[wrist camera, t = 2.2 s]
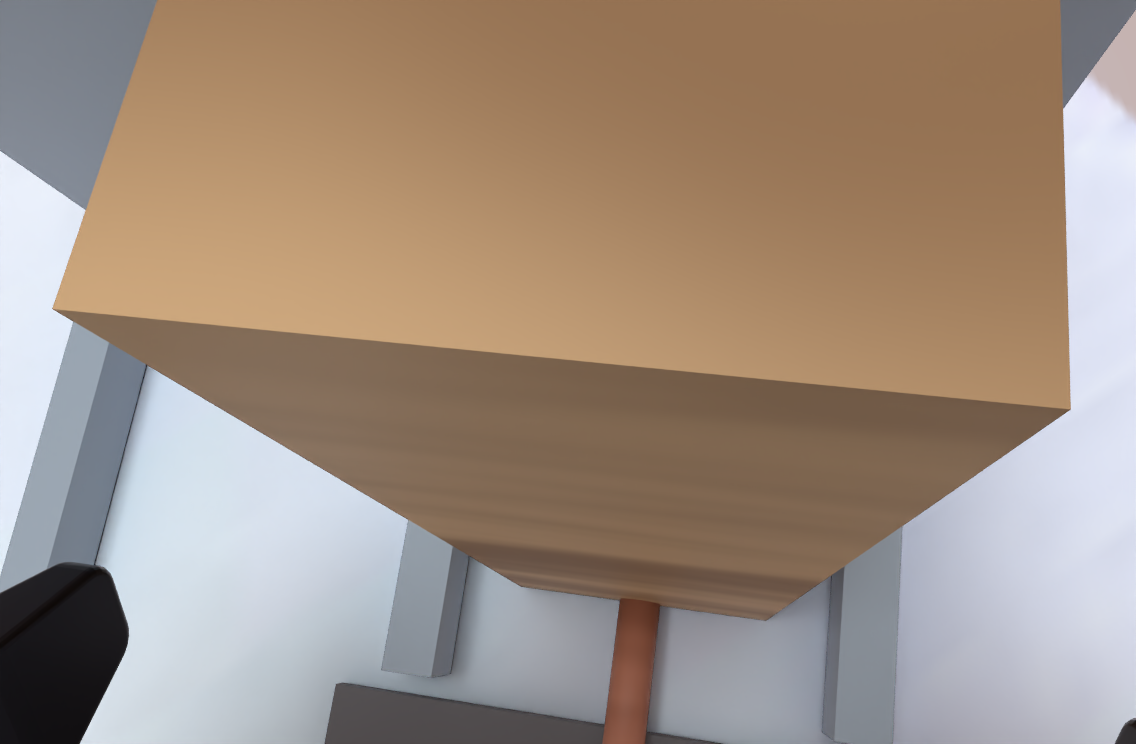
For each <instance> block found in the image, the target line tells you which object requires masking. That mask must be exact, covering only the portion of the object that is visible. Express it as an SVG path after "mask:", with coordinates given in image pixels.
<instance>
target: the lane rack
mask: <svg viewBox="0 0 1136 744" xmlns="http://www.w3.org/2000/svg"><path fill="white" fill-rule="evenodd" d="M156 2H157V0H0V151H1V152H3V153H4V154H6V155H7V156H9V157H10V158H11V159H13V160H14V161H16V162H17V163H19V164H20V165H22V166H23V167H24V168H26V169H27V170H29V171H30V172H32V173H33V174H34V175H36V176H37V177H39V178H40V179H42V180H43V181H45V182H46V183H47V184H49V185H50V186H52V187H53V188H55V189H56V190H58V191H59V192H60V193H62V194H63V195H65V196H66V197H68V198H69V199H71V200H72V201H73V202H75V203H76V204H78V205H79V206H81V207H82V208H84V209H85V210H86V208H87V205H88V202H89V199H90V197H91V194H92V191H93V188H94V185H95V182H96V179H97V176H98V173H99V170H100V167H101V164H102V161H103V158H104V155H105V152H106V149H107V147H108V144H109V141H110V138H111V135H112V132H113V129H114V126H115V123H116V120H117V117H118V114H119V111H120V108H121V105H122V102H123V99H124V96H125V94H126V91H127V88H128V85H129V82H130V79H131V76H132V73H133V70H134V67H135V64H136V61H137V58H138V55H139V52H140V49H141V46H142V43H143V41H144V38H145V35H146V32H147V29H148V26H149V23H150V20H151V17H152V14H153V11H154V8H155V5H156ZM1135 10H1136V0H1060V12H1061V51H1062V91H1063V108H1064V107H1065V106H1066V104H1067V103H1068V102H1069V100H1070V99H1071V97H1072V96H1073V95H1074V93H1075V92H1076V91H1077V89H1078V88H1079V87H1080V85H1081V84H1082V82H1083V81H1084V80H1085V78H1086V77H1087V76H1088V74H1089V73H1090V72H1091V70H1092V69H1093V67H1094V66H1095V64H1096V63H1097V62H1098V61H1099V59H1100V58H1101V57H1102V55H1103V54H1104V52H1105V51H1106V50H1107V48H1108V47H1109V45H1110V44H1111V43H1112V41H1113V40H1114V39H1115V37H1116V36H1117V35H1118V33H1119V32H1120V31H1121V29H1122V28H1123V26H1124V25H1125V24H1126V22H1127V21H1128V20H1129V18H1130V17H1131V16H1132V14H1133V13H1134V11H1135ZM145 368H146V364H144V363H143V362H141V361H139V360H138V359H136V358H134V357H133V356H131V355H129V354H128V353H126V352H124V351H122V350H121V349H119V348H117V347H116V346H114V345H112V344H111V343H109V342H107V341H106V340H104V339H102V338H101V337H99V336H97V335H95V334H94V333H92V332H90V331H89V330H87V329H85V328H84V327H82V326H80V325H79V324H77V323H75V322H73V325H72V328H71V332H70V335H69V339H68V342H67V345H66V349H65V352H64V356H63V359H62V363H61V366H60V370H59V373H58V377H57V380H56V384H55V387H54V391H53V394H52V398H51V401H50V405H49V408H48V412H47V415H46V419H45V422H44V426H43V429H42V433H41V436H40V440H39V443H38V447H37V450H36V454H35V457H34V461H33V464H32V467H31V471H30V474H29V478H28V481H27V485H26V488H25V492H24V495H23V499H22V502H21V506H20V509H19V513H18V516H17V520H16V523H15V527H14V530H13V534H12V537H11V541H10V544H9V548H8V551H7V555H6V558H5V562H4V565H3V569H2V572H1V576H0V593H1V592H3V591H4V590H6V589H8V588H10V587H12V586H14V585H16V584H18V583H20V582H22V581H24V580H26V579H28V578H30V577H32V576H34V575H36V574H38V573H40V572H42V571H44V570H46V569H48V568H50V567H52V566H54V565H56V564H58V563H62V562H77V563H83V564H90V565H94V562H95V559H96V555H97V551H98V547H99V543H100V539H101V536H102V532H103V528H104V524H105V520H106V517H107V513H108V509H109V505H110V501H111V498H112V494H113V490H114V486H115V482H116V479H117V475H118V471H119V467H120V463H121V459H122V456H123V452H124V448H125V444H126V440H127V437H128V433H129V429H130V425H131V421H132V418H133V414H134V410H135V406H136V402H137V399H138V395H139V391H140V387H141V383H142V379H143V376H144V372H145ZM901 543H902V527H900V528H899V529H897V530H896V531H895V532H893V533H892V534H890V535H889V536H887V537H886V538H884V539H883V540H882V541H880V542H879V543H877V544H876V545H874V546H873V547H871V548H870V549H869V550H867V551H866V552H864V553H863V554H861V555H860V556H858V557H857V558H856V559H854V560H853V561H851V562H850V563H848V564H847V565H845V566H844V567H843V568H841V569H840V570H838V571H837V572H835V573H834V574H832V582H831V598H830V614H829V630H828V646H827V661H826V677H825V693H824V709H823V725H822V732H823V733H824V734H825V735H827V736H828V737H829V738H831V739H832V740H833V741H835V742H842V743H848V744H893V723H894V701H895V678H896V656H897V633H898V611H899V588H900V566H901ZM468 561H469V555H467V554H465V553H463V552H462V551H460V550H458V549H457V548H455V547H453V546H452V545H450V544H448V543H447V542H445V541H443V540H441V539H440V538H438V537H436V536H435V535H433V534H431V533H430V532H428V531H426V530H425V529H423V528H421V527H420V526H418V525H416V524H414V523H413V522H411V521H409V520H408V524H407V529H406V535H405V540H404V546H403V551H402V557H401V563H400V568H399V574H398V579H397V585H396V590H395V596H394V602H393V607H392V613H391V618H390V624H389V629H388V635H387V641H386V646H385V652H384V657H383V663H382V668H381V670H384V671H390V672H397V673H403V674H409V675H416V676H422V677H428V678H433V677H438V676H443V675H447V674H450V672H451V666H452V660H453V654H454V648H455V642H456V635H457V629H458V623H459V617H460V611H461V604H462V598H463V592H464V586H465V580H466V573H467V567H468Z"/></svg>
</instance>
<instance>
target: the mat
mask: <svg viewBox="0 0 1136 744" xmlns="http://www.w3.org/2000/svg"><path fill="white" fill-rule="evenodd" d="M604 726H605V725H603V724H597V723H591V722H584V721H578V720H572V719H566V718H559V717H553V716H547V715H541V714H535V713H528V712H522V711H516V710H510V709H503V708H497V707H491V706H485V705H478V704H472V703H466V702H460V701H454V700H447V699H441V698H435V697H429V696H422V695H416V694H410V693H404V692H398V691H391V690H385V689H379V688H373V687H366V686H360V685H354V684H348V683H338V684H336V687H335V692H334V697H333V702H332V708H331V713H330V718H329V723H328V729H327V734H326V739H325V744H602V743H603V735H604ZM645 744H721V743H715V742H709V741H703V740H696V739H690V738H684V737H678V736H671V735H665V734H659V733H653V732H647V731H646V739H645Z"/></svg>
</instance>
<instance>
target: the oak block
mask: <svg viewBox="0 0 1136 744" xmlns="http://www.w3.org/2000/svg"><path fill="white" fill-rule="evenodd" d="M52 309H53V310H55V311H57V312H58V313H60V314H62V315H63V316H65V317H67V318H68V319H70V320H72V321H73V322H75V323H77V324H79V325H80V326H82V327H84V328H85V329H87V330H89V331H90V332H92V333H94V334H95V335H97V336H99V337H101V338H102V339H104V340H106V341H107V342H109V343H111V344H112V345H114V346H116V347H117V348H119V349H121V350H122V351H124V352H126V353H128V354H129V355H131V356H133V357H134V358H136V359H138V360H139V361H141V362H143V363H144V364H146V365H148V366H149V367H151V368H153V369H155V370H156V371H158V372H160V373H161V374H163V375H165V376H166V377H168V378H170V379H171V380H173V381H175V382H176V383H178V384H180V385H182V386H183V387H185V388H187V389H188V390H190V391H192V392H193V393H195V394H197V395H198V396H200V397H202V398H203V399H205V400H207V401H209V402H210V403H212V404H214V405H215V406H217V407H219V408H220V409H222V410H224V411H225V412H227V413H229V414H230V415H232V416H234V417H236V418H237V419H239V420H241V421H242V422H244V423H246V424H247V425H249V426H251V427H252V428H254V429H256V430H257V431H259V432H261V433H263V434H264V435H266V436H268V437H269V438H271V439H273V440H274V441H276V442H278V443H279V444H281V445H283V446H285V447H286V448H288V449H290V450H291V451H293V452H295V453H296V454H298V455H300V456H301V457H303V458H305V459H306V460H308V461H310V462H312V463H313V464H315V465H317V466H318V467H320V468H322V469H323V470H325V471H327V472H328V473H330V474H332V475H333V476H335V477H337V478H339V479H340V480H342V481H344V482H345V483H347V484H349V485H350V486H352V487H354V488H355V489H357V490H359V491H360V492H362V493H364V494H366V495H367V496H369V497H371V498H372V499H374V500H376V501H377V502H379V503H381V504H382V505H384V506H386V507H387V508H389V509H391V510H393V511H394V512H396V513H398V514H399V515H401V516H403V517H404V518H406V519H408V520H409V521H411V522H413V523H414V524H416V525H418V526H420V527H421V528H423V529H425V530H426V531H428V532H430V533H431V534H433V535H435V536H436V537H438V538H440V539H441V540H443V541H445V542H447V543H448V544H450V545H452V546H453V547H455V548H457V549H458V550H460V551H462V552H463V553H465V554H467V555H469V556H470V557H472V558H474V559H475V560H477V561H479V562H480V563H482V564H484V565H485V566H487V567H489V568H490V569H492V570H494V571H496V572H497V573H499V574H501V575H502V576H504V577H506V578H507V579H509V580H511V581H512V582H514V583H516V584H517V585H519V586H521V587H528V588H535V589H542V590H549V591H557V592H564V593H571V594H578V595H585V596H593V597H600V598H607V599H614V600H620V604H619V612H618V621H617V629H616V637H615V645H614V653H613V661H612V669H611V678H610V686H609V694H608V702H607V710H606V718H605V726H604V735H603V743H602V744H645V739H646V729H647V720H648V711H649V702H650V693H651V684H652V675H653V666H654V656H655V647H656V638H657V629H658V620H659V611H660V606H665V607H672V608H679V609H686V610H693V611H701V612H708V613H715V614H722V615H730V616H737V617H744V618H751V619H758V620H768V619H769V618H770V617H772V616H773V615H775V614H776V613H778V612H779V611H781V610H782V609H783V608H785V607H786V606H788V605H789V604H791V603H792V602H794V601H795V600H796V599H798V598H799V597H801V596H802V595H804V594H805V593H807V592H808V591H809V590H811V589H812V588H814V587H815V586H817V585H818V584H820V583H821V582H822V581H824V580H825V579H827V578H828V577H830V576H831V575H832V574H834V573H835V572H837V571H838V570H840V569H841V568H843V567H844V566H845V565H847V564H848V563H850V562H851V561H853V560H854V559H856V558H857V557H858V556H860V555H861V554H863V553H864V552H866V551H867V550H869V549H870V548H871V547H873V546H874V545H876V544H877V543H879V542H880V541H882V540H883V539H884V538H886V537H887V536H889V535H890V534H892V533H893V532H895V531H896V530H897V529H899V528H900V527H902V526H903V525H905V524H906V523H908V522H909V521H910V520H912V519H913V518H915V517H916V516H918V515H919V514H920V513H922V512H923V511H925V510H926V509H928V508H929V507H931V506H932V505H933V504H935V503H936V502H938V501H939V500H941V499H942V498H944V497H945V496H946V495H948V494H949V493H951V492H952V491H954V490H955V489H957V488H958V487H959V486H961V485H962V484H964V483H965V482H967V481H968V480H970V479H971V478H972V477H974V476H975V475H977V474H978V473H980V472H981V471H983V470H984V469H985V468H987V467H988V466H990V465H991V464H993V463H994V462H996V461H997V460H998V459H1000V458H1001V457H1003V456H1004V455H1006V454H1007V453H1008V452H1010V451H1011V450H1013V449H1014V448H1016V447H1017V446H1019V445H1020V444H1021V443H1023V442H1024V441H1026V440H1027V439H1029V438H1030V437H1032V436H1033V435H1034V434H1036V433H1037V432H1039V431H1040V430H1042V429H1043V428H1045V427H1046V426H1047V425H1049V424H1050V423H1052V422H1053V421H1055V420H1056V419H1058V418H1059V417H1060V416H1062V415H1063V414H1065V413H1066V412H1068V411H1069V410H1071V405H1070V366H1069V327H1068V287H1067V248H1066V209H1065V169H1064V130H1063V91H1062V51H1061V12H1060V0H157V2H156V5H155V8H154V11H153V14H152V17H151V20H150V23H149V26H148V29H147V32H146V35H145V38H144V41H143V43H142V46H141V49H140V52H139V55H138V58H137V61H136V64H135V67H134V70H133V73H132V76H131V79H130V82H129V85H128V88H127V91H126V94H125V96H124V99H123V102H122V105H121V108H120V111H119V114H118V117H117V120H116V123H115V126H114V129H113V132H112V135H111V138H110V141H109V144H108V147H107V149H106V152H105V155H104V158H103V161H102V164H101V167H100V170H99V173H98V176H97V179H96V182H95V185H94V188H93V191H92V194H91V197H90V199H89V202H88V205H87V208H86V211H85V214H84V217H83V220H82V223H81V226H80V229H79V232H78V235H77V238H76V241H75V244H74V247H73V250H72V252H71V255H70V258H69V261H68V264H67V267H66V270H65V273H64V276H63V279H62V282H61V285H60V288H59V291H58V294H57V297H56V300H55V303H54V305H53V308H52Z"/></svg>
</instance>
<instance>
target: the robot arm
mask: <svg viewBox="0 0 1136 744" xmlns="http://www.w3.org/2000/svg"><path fill="white" fill-rule="evenodd" d="M128 638H129V627H128V623H127V620H126V617H125V614H124V611H123V608H122V605H121V602H120V599H119V596H118V593H117V590H116V587H115V584H114V581H113V578H112V576H111V574H110V573H109V572H108V571H107V570H106V569H105V568H104V567H101V566H97V565H90V564H83V563H77V562H62V563H58V564H56V565H54V566H52V567H50V568H48V569H46V570H44V571H42V572H40V573H38V574H36V575H34V576H32V577H30V578H28V579H26V580H24V581H22V582H20V583H18V584H16V585H14V586H12V587H10V588H8V589H6V590H4V591H3V592H1V593H0V744H80V742H81V740H82V738H83V736H84V734H85V732H86V730H87V728H88V726H89V724H90V722H91V720H92V718H93V716H94V714H95V712H96V710H97V708H98V706H99V704H100V702H101V700H102V698H103V696H104V694H105V692H106V690H107V688H108V686H109V684H110V682H111V680H112V678H113V676H114V674H115V672H116V670H117V668H118V666H119V664H120V662H121V660H122V658H123V656H124V653H125V651H126V648H127V644H128ZM1115 744H1136V718H1133V719H1131V720H1130V721H1128V722H1127V723H1125V725H1124V726H1123V728H1122V730H1121V732H1120V734H1119V736H1118V738H1117V740H1116V742H1115Z"/></svg>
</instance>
